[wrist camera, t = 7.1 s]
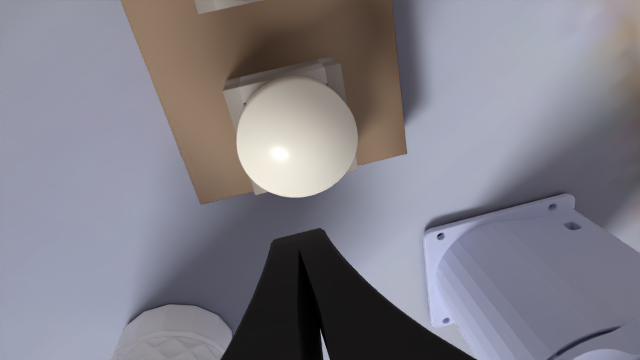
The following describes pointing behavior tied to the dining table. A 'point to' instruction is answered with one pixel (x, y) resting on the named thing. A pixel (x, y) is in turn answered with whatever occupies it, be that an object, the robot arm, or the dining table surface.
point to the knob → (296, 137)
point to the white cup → (174, 335)
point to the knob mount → (265, 73)
